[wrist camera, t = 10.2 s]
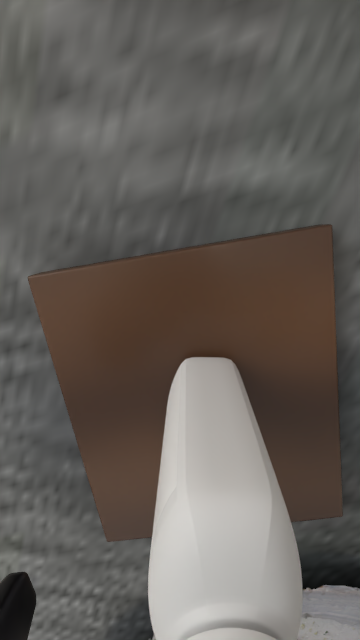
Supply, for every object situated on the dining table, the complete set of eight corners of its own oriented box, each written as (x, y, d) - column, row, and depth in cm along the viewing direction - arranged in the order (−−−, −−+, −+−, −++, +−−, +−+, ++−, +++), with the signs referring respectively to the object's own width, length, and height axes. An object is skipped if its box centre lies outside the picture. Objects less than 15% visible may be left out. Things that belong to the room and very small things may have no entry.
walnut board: (332, 497, 17) (343, 517, 16) (112, 522, 18) (106, 542, 17) (320, 224, 13) (332, 224, 12) (39, 272, 14) (26, 276, 13)
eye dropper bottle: (133, 436, 15) (-64, 1197, 3) (195, 336, 13) (244, 1065, 2) (214, 476, 15) (299, 1255, 4) (282, 384, 14) (769, 1190, 2)
